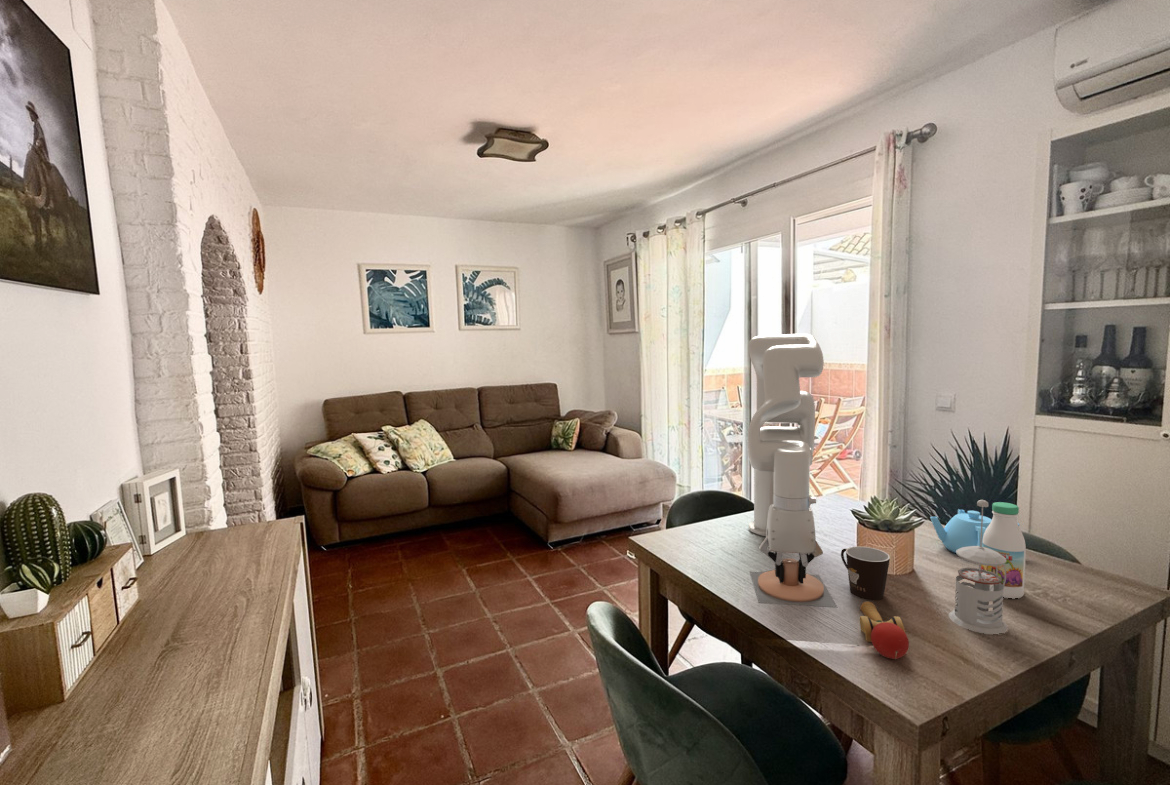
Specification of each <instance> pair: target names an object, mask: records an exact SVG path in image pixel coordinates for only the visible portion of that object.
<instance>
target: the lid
mask: <svg viewBox="0 0 1170 785" xmlns="http://www.w3.org/2000/svg"><path fill="white" fill-rule="evenodd" d="M782 564H783V566H784V581H783V582H780V581H779V578H778V577H776V575H775V569H771V570H768V571H763V572H764V573H762V574H761V575H760V576H759V577H758V586H759V588H760V589H761V590H762V591H763V592H765V593H766V594H768V595H770V596H773V597H775V598H778V599H782V600H787V601H794V602H807V601H813V600H816V599H819V598H820V597H822V596H823V594H824V586H823V584H822V582H821V581H819V580H818V579H817V578H815V577H813V576H811V575H808V574H809V573H806V578H803V584H802V583H799V560H797V559H795V558H789V557H787V558H782Z"/></svg>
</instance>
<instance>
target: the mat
mask: <svg viewBox="0 0 1170 785" xmlns="http://www.w3.org/2000/svg"><path fill="white" fill-rule="evenodd" d="M764 572H765V571H751V570H750V571H749V574H750V578H751V582H752V584H753V588H754V591H755V595H756V599H757V601H758V603H759V604H769V605H771V604H773V605H774V604H775V605H788V606H789V605H790V606H805V607H820V608H821V607H824V608H838V607H839V606H838V605H837V603H836V602H835V600H834V598H833V596H832V595H831V593H830V592H829V590H828V588H827V586H826V584H825V583H824V581H823V580H822V578H821V576H820V575H819V574H812V573H811V574H809V573H807V574H808V575H811V576H813V577H815V578H817V579H818V580H819V581H821V582H822V584H823V586H824V594H823V596H822V597H820V598H819V599H816V600H813V601H807V602H794V601H787V600H782V599H778V598H775V597H773V596H770V595H768V594H766V593H765V592H763V591H762V590H761V589H760V588H759V586H758V577H759V576H760V575H761V574H762V573H764Z"/></svg>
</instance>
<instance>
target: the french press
mask: <svg viewBox="0 0 1170 785" xmlns="http://www.w3.org/2000/svg"><path fill="white" fill-rule="evenodd" d="M976 506H977V507H981V540H980V546H968V547H962V548H960V549H958V550H956V553H957V554H956V555H957V556H958V557H959V558H960V559H962V560H964V561H966V562H969V563H973V564H977V565H979V568H977V567H969V566H968V567H962V568H960V569H958V570H957V573H958V575H956V576H955V593H954V594H955V595H954V609H953V610H951V611H950V612H948V618H949V619H950V620H951V621H952V622H953V623H955V625H957V626H959V627H961V628H963V629H966V630H968V629H969V631H970V632H971V631H972V632H975V633H978V634H979V633H980V634H983V633H984V635H993V634H998V635H1000V634H999V633H1004V632H1005V631H1006V630H1007V629H1008V630H1009V627H1008V628H1007V626H1008V624H1007V623H1005V621H1003V617H1004V616H1003V614H1004V613H1003V612H1004V610H1003V607H1004V602H1003V601H1004V598H1003V593H1004V585H1005V582H1006V568H1005V565H1004V564H1005V563H1006V558H1005V557H1003V556H1002V555H1001V554H999V553H998V552H996V551H994V550H992V549H989V548H985V547H982V524H983V516H984V508H989V502H988V501H987V500H984V499H980V500H978V501H977V502H976ZM981 565H988V566H994V567H996V574H994V573H992V572H991V571H990V572H989V571H987V570H983V569H982V570H981ZM999 565H1003V566H1004V569H1005V578H1004V583H1003V585H1002V584H1001V582H1002V578H1001V577H1000V576H999V575H997V574H998V568H997V566H999ZM963 580H966V581H963ZM960 581H963V582H960ZM967 581H970V582H967ZM971 582H973V583H974V584H973V583H971ZM990 585H993V586H992V587H991V588H990ZM993 587H994V591H991V589H992V588H993ZM990 602H992V604H990ZM989 609H992V610H989ZM1004 634H1005V633H1004Z"/></svg>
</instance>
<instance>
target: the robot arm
mask: <svg viewBox="0 0 1170 785" xmlns="http://www.w3.org/2000/svg"><path fill="white" fill-rule="evenodd" d="M748 355H749V358H750V361H751V364H752V365H753V368H754V371H755V374H756V411H755V413H754V414H753V416H752V417H751V420H750V422H749V426H748V430H747V431H748V433H747V440H748V442H747V443H748V444H747V445H748V460H749V463H750V466H751V468H752V469H753V473H754V474H753V478H754V479H753V480H754V483H753V498H754V499H753V501H754V502H753V508H754V509H753V521H751V522H749V523H748V530H749V531H750V532H752V533H753V534H755V535H759V536H761V537H762V536H763V537H765V538H764V539H763V541H762V542H761V544H760V546H759V547H758V549H759V551H760V552H761V553H762V554H764V555H766V556H768V557H769V559H771V560H772V561H773V563H775V567H774V568H775V569H774V570H775V575H776V577H778V578H779V581H780V582H783V581H784V566H783V564H782V560H783V555H784V553H786V554H787V553H789V554H798V558H799V559H798V561H799V583H802V584H803V578H806V574H807V567H808V565H809V563H811V562H812V561H813V560H814V559H815V558H817V557H819V556H822V555H823V553H824V551H823V550H822V548H821V546H820V545H819V543H818V541H817V540H816V537H817V536H816V528H815V527H816V526H815V518H814V512H813V509H812V506H811V505H813V504H817V498H816V497H815V496H814V497H813V496H811V495H810V472H811V471H810V468H811V466H812V464H813V458H814V457H813V456H814V455H813V454H814V450H815V431H816V426H815V425H816V404H815V400H814V397H813V395H812V394H811V393H810V392H808V391H805V390H801V386H800V385H801V383H800V378H817V377H819V376H821V374H822V373H823V370H824V363H825V362H824V360H825V359H824V355H823V350H822V348H821V346H820V344H819V343H818V341H817V340H816V338H815V337H814V335H812V334H809V333H791V334H790V333H787V334H785V333H784V334H782V333H780V334H779V333H777V334H776V333H775V334H761V335H757V336H754V337H751V339H750V340H749V343H748ZM765 423H766V424H767V423H769V424H796V425H797V426H775V425H773V426H771V425H770V426H768V425H767V426H763V425H764V424H765Z"/></svg>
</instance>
